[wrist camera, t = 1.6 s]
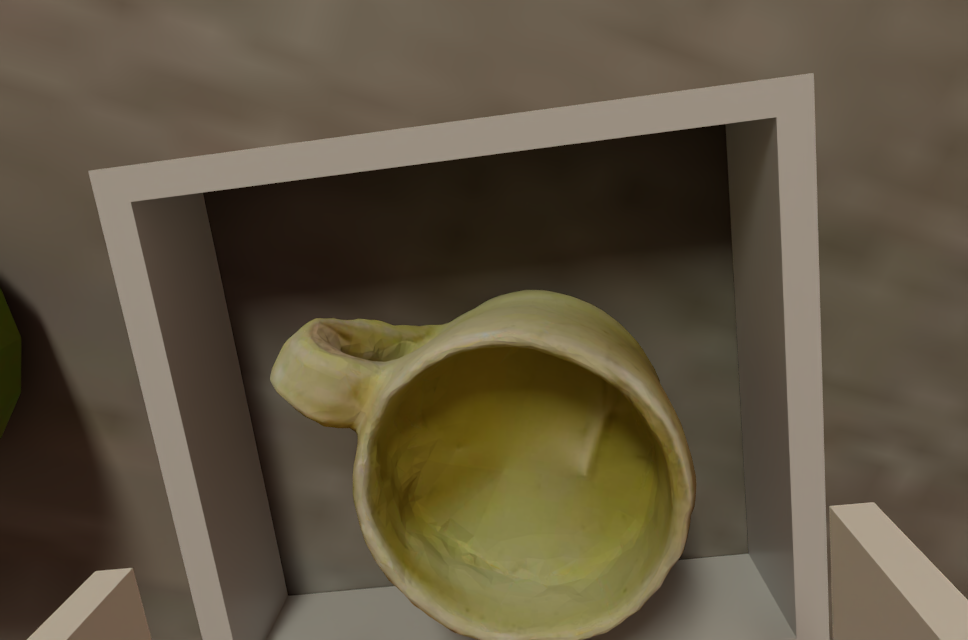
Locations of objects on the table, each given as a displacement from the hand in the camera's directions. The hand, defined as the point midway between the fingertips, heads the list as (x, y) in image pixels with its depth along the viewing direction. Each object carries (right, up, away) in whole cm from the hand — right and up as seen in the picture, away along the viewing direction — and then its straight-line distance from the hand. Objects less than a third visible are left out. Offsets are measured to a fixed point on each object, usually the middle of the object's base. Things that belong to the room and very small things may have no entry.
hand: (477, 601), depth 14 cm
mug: (0, +3, +13) cm, 14 cm away
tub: (0, +3, +13) cm, 14 cm away
